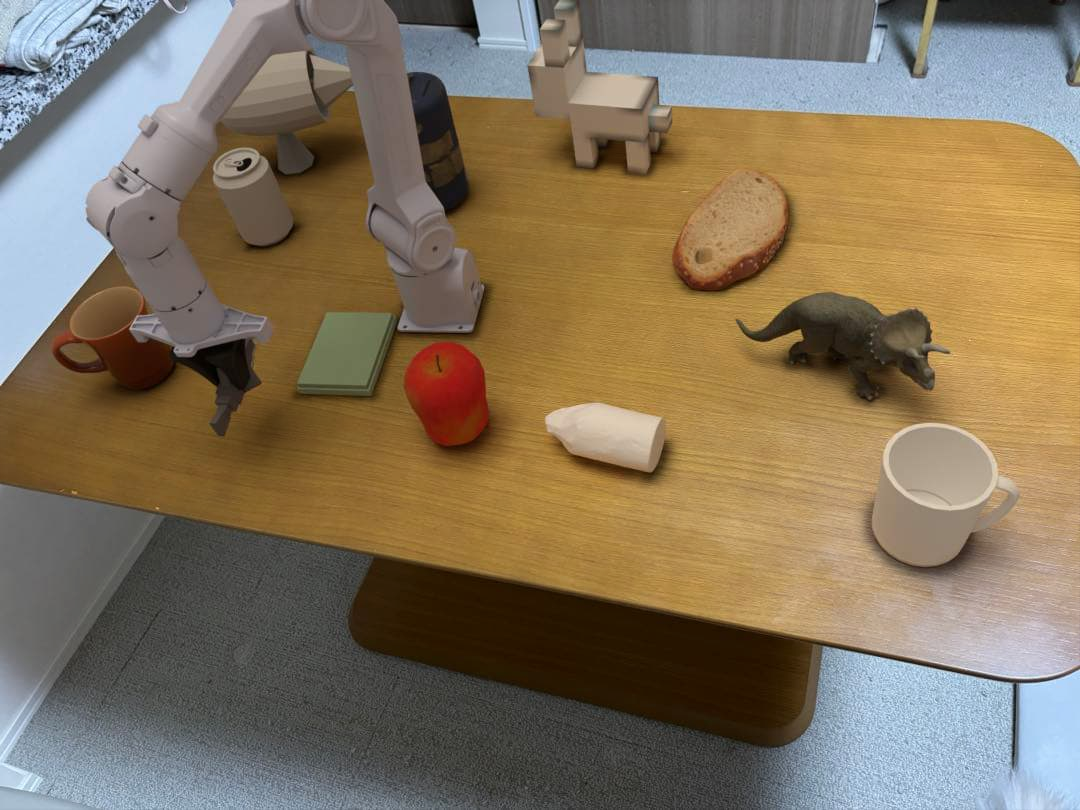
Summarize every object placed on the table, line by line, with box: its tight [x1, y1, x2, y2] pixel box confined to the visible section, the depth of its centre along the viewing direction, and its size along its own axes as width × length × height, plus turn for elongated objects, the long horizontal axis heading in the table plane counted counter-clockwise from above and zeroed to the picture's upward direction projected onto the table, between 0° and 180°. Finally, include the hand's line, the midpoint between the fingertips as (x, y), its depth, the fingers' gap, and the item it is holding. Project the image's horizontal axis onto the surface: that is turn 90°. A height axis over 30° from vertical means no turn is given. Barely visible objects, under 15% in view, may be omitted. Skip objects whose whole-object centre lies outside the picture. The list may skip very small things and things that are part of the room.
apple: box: [403, 340, 490, 447], centre depth 93 cm, size 9×8×12 cm
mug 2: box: [871, 422, 1020, 568], centre depth 78 cm, size 11×9×10 cm
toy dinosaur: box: [735, 291, 952, 401], centre depth 91 cm, size 22×8×11 cm, turn 49°
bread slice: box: [671, 167, 789, 291], centre depth 110 cm, size 18×18×4 cm
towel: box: [296, 311, 398, 397], centre depth 107 cm, size 9×12×2 cm
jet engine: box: [219, 47, 353, 175], centre depth 128 cm, size 15×20×18 cm
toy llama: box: [526, 0, 673, 175], centre depth 118 cm, size 8×18×20 cm, turn 69°
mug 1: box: [50, 285, 175, 390], centre depth 106 cm, size 12×9×10 cm
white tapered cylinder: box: [544, 401, 667, 473], centre depth 91 cm, size 6×12×6 cm, turn 68°
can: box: [212, 147, 295, 247], centre depth 121 cm, size 8×8×12 cm
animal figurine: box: [209, 339, 263, 438], centre depth 95 cm, size 12×4×5 cm, turn 171°
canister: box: [407, 71, 469, 212], centre depth 118 cm, size 10×10×18 cm
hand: (234, 382), depth 96 cm, fingers closed on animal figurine, 2 cm apart
